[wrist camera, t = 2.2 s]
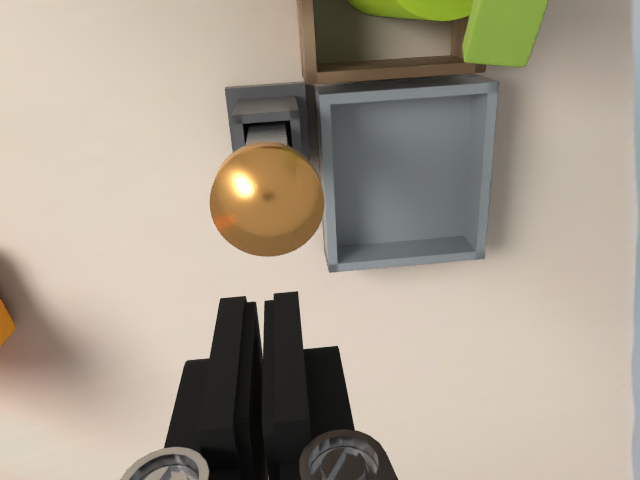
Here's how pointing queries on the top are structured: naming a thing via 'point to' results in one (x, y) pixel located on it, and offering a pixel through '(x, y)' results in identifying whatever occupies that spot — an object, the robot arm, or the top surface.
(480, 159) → the tray
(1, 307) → the bracket
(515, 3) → the soap dispenser
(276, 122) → the plunger
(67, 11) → the top surface
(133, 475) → the robot arm
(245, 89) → the plunger collar
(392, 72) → the wooden box
